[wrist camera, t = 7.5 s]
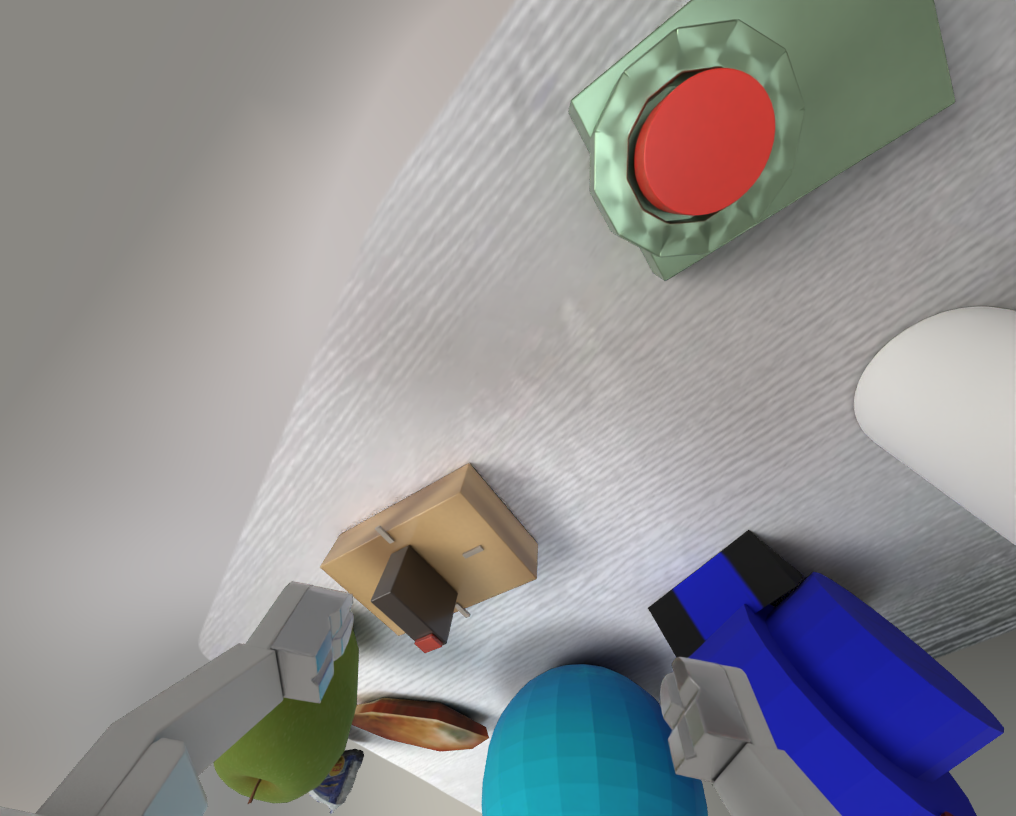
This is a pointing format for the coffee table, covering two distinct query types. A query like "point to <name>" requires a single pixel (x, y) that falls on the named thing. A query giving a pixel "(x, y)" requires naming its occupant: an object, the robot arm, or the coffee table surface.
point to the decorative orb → (585, 751)
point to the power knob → (416, 599)
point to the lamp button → (705, 143)
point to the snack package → (339, 780)
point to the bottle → (951, 408)
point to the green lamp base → (792, 90)
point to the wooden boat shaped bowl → (419, 724)
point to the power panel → (440, 543)
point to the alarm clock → (832, 682)
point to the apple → (295, 740)
